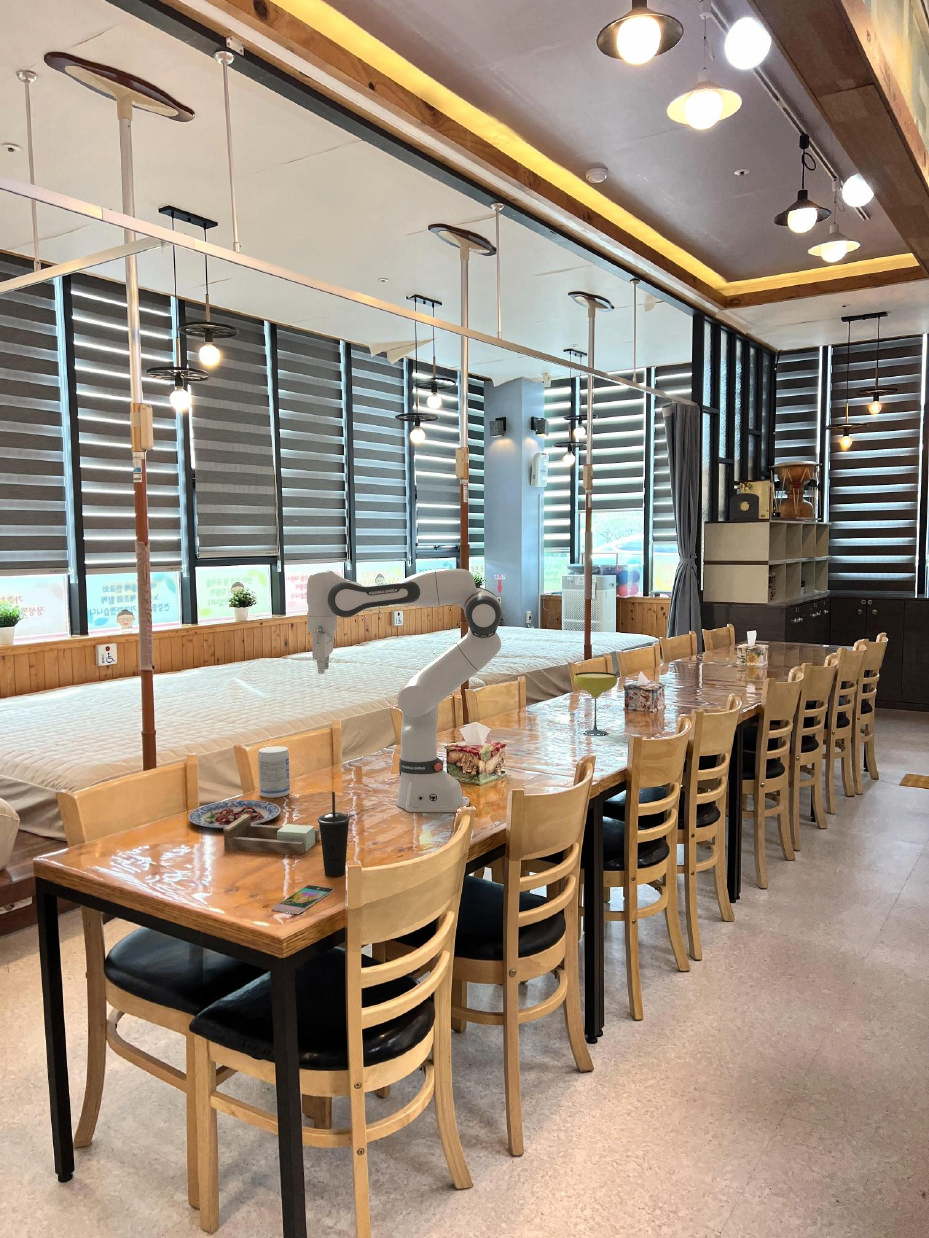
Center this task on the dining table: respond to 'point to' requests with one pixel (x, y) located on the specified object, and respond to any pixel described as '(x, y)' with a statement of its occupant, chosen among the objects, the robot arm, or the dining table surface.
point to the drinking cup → (334, 841)
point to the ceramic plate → (233, 812)
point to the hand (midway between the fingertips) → (323, 671)
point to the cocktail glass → (595, 688)
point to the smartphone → (303, 899)
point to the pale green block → (298, 834)
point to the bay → (243, 828)
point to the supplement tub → (273, 771)
